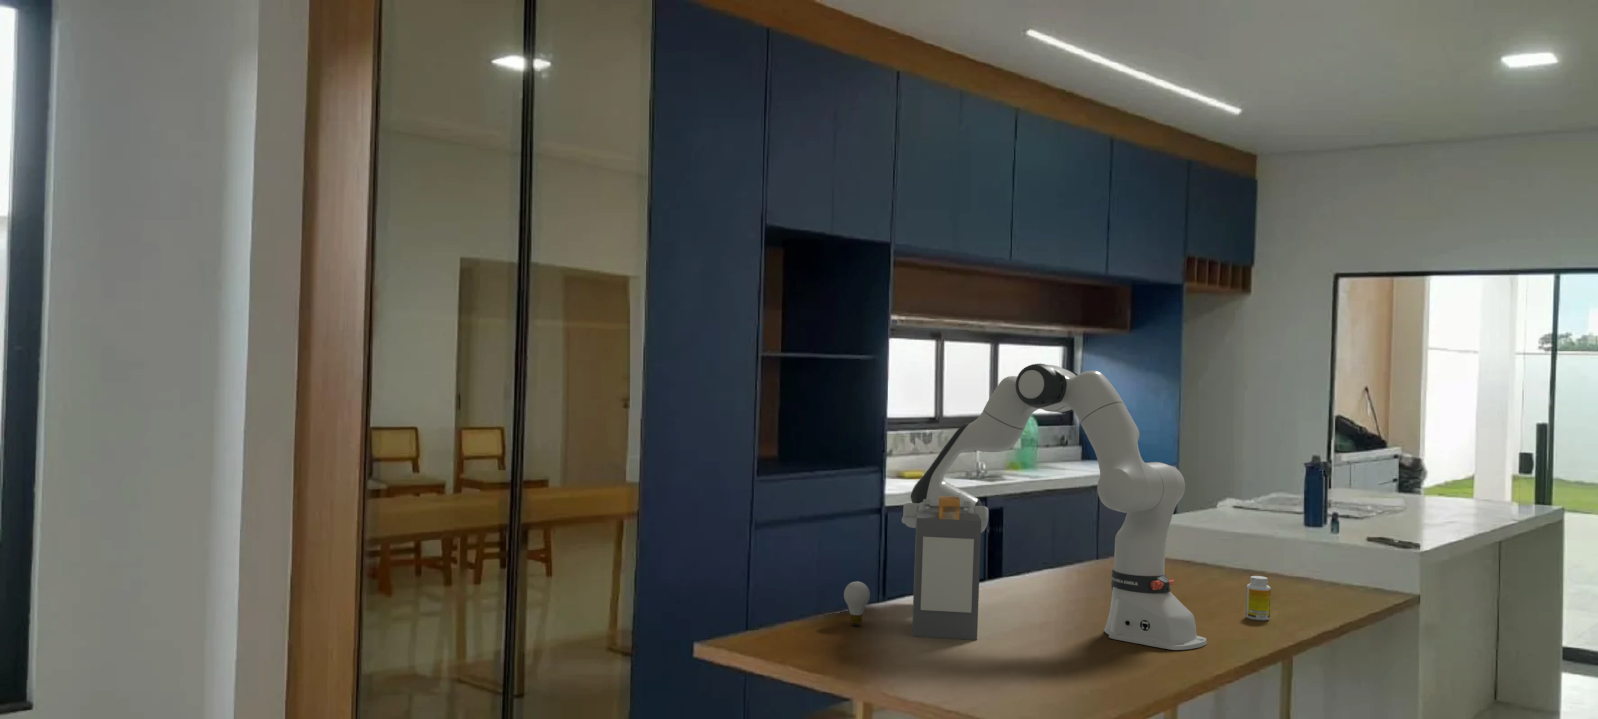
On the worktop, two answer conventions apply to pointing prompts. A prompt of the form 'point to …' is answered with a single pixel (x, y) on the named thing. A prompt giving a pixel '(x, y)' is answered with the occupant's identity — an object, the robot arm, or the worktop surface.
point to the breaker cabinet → (946, 576)
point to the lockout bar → (949, 507)
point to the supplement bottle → (1258, 599)
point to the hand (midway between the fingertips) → (946, 503)
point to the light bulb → (856, 600)
